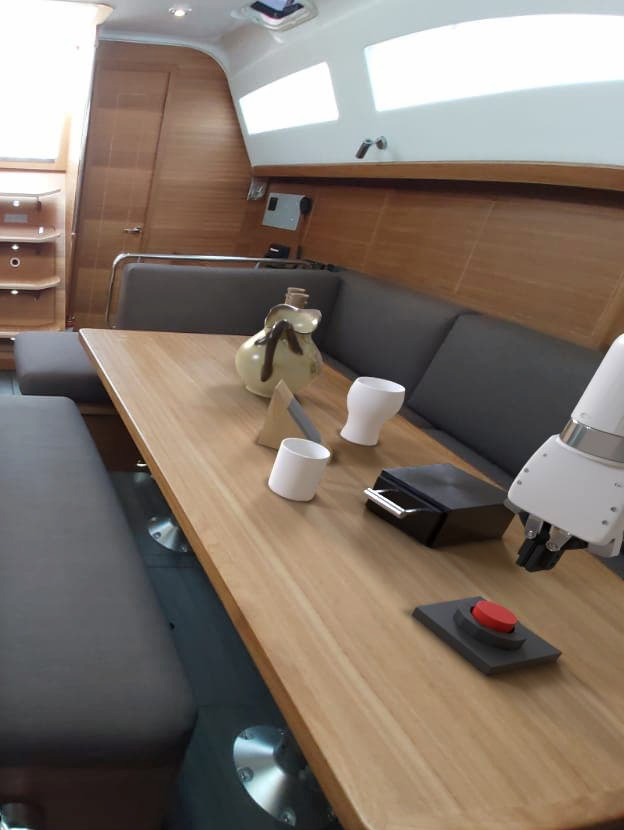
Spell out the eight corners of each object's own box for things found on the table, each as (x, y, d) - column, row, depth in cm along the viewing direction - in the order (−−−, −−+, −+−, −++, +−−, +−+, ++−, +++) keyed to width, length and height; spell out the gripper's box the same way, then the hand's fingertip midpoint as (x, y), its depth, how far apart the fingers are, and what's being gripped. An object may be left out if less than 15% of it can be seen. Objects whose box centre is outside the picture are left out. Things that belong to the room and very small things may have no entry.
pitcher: (286, 380, 161) (310, 303, 150) (329, 411, 139) (362, 324, 129) (216, 377, 161) (236, 300, 150) (249, 407, 140) (275, 320, 129)
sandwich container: (331, 467, 111) (355, 407, 105) (256, 445, 119) (274, 388, 113) (334, 453, 117) (357, 395, 111) (263, 433, 126) (281, 378, 119)
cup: (359, 452, 118) (383, 394, 112) (322, 431, 128) (342, 377, 121) (394, 448, 121) (420, 391, 114) (355, 428, 130) (377, 375, 123)
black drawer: (399, 548, 85) (416, 515, 82) (343, 508, 96) (356, 477, 92) (488, 536, 89) (507, 504, 86) (424, 498, 99) (439, 469, 96)
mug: (265, 468, 110) (279, 427, 105) (308, 478, 107) (324, 436, 102) (268, 496, 100) (283, 452, 95) (315, 508, 97) (333, 462, 92)
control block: (473, 606, 75) (486, 586, 73) (553, 664, 66) (570, 643, 64) (409, 617, 73) (421, 597, 71) (484, 678, 64) (499, 657, 62)
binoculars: (259, 352, 187) (279, 285, 177) (289, 356, 184) (311, 288, 173) (262, 368, 170) (283, 295, 160) (295, 373, 167) (319, 299, 156)
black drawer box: (429, 550, 86) (452, 509, 83) (365, 507, 98) (382, 469, 94) (499, 541, 90) (524, 500, 86) (429, 499, 101) (448, 462, 97)
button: (486, 608, 70) (492, 598, 69) (518, 631, 66) (525, 621, 66) (464, 611, 69) (469, 602, 68) (495, 635, 66) (502, 625, 65)
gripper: (736, 473, 50) (630, 607, 58) (554, 411, 63) (489, 527, 71) (683, 480, 48) (582, 617, 56) (509, 415, 62) (447, 533, 70)
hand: (531, 566), depth 64 cm, fingers closed
